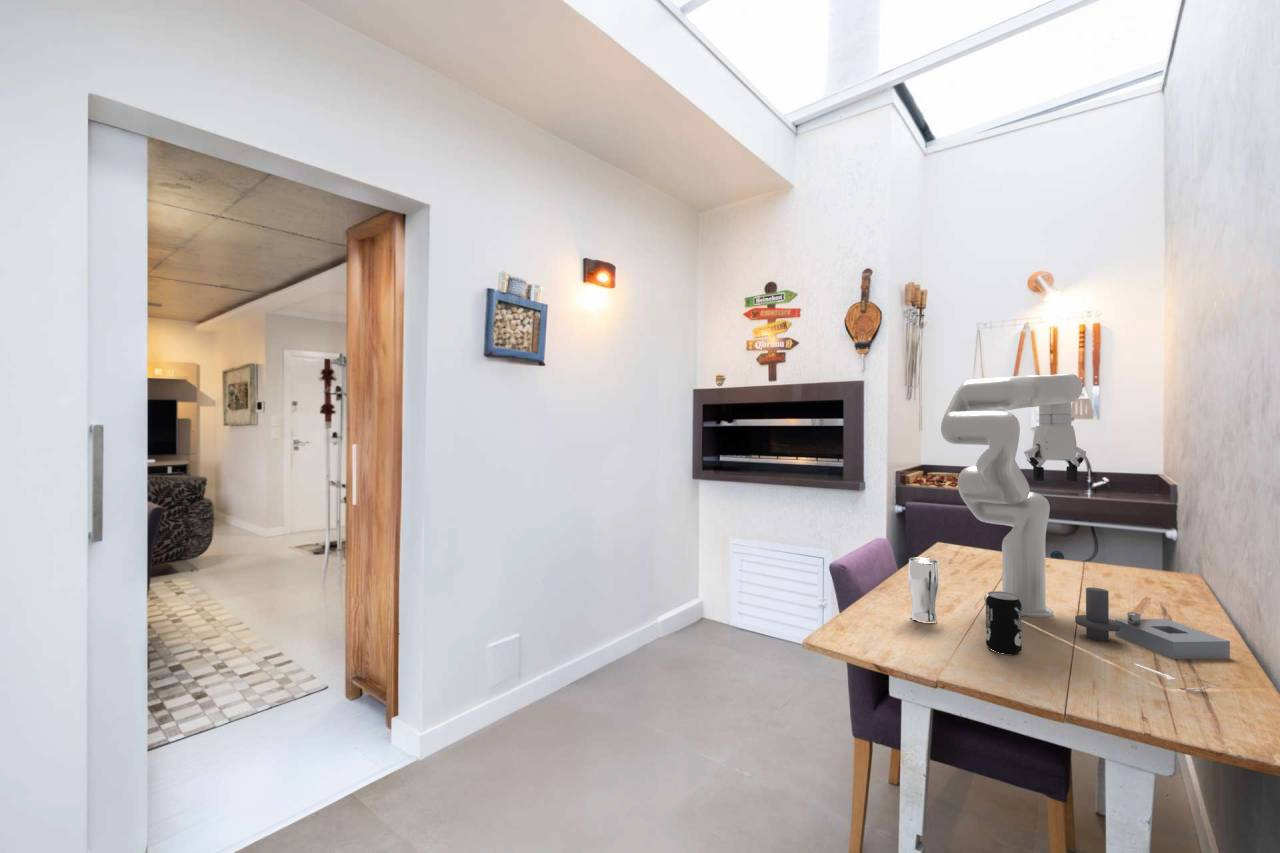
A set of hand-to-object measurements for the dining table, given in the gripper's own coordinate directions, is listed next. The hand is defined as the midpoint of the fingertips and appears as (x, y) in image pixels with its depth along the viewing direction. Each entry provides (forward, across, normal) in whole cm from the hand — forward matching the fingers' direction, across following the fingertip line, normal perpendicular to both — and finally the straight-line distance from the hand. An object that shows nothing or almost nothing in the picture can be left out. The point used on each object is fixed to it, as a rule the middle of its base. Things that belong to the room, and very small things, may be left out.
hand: (1055, 480), depth 163 cm
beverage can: (+34, +41, +38) cm, 65 cm away
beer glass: (+34, +48, +18) cm, 61 cm away
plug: (+33, +16, +33) cm, 50 cm away
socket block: (+33, +4, +38) cm, 51 cm away
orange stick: (+29, +2, +29) cm, 41 cm away
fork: (+34, +20, +50) cm, 64 cm away
